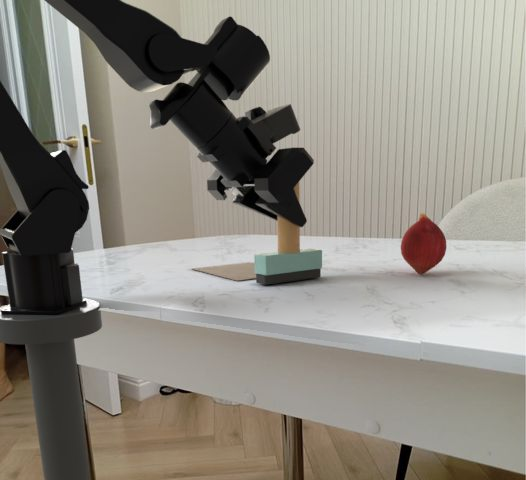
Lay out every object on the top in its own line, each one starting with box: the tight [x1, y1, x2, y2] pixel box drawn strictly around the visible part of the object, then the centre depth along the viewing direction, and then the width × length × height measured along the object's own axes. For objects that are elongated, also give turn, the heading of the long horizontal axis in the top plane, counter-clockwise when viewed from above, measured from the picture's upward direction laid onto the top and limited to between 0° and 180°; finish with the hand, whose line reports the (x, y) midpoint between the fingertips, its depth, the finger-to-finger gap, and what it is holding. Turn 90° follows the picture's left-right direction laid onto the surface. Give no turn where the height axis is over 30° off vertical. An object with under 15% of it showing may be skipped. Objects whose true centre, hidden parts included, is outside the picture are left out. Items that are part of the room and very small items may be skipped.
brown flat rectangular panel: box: [191, 262, 257, 282], centre depth 86 cm, size 14×10×1 cm
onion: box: [400, 212, 447, 275], centre depth 78 cm, size 6×6×8 cm
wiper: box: [253, 181, 323, 286], centre depth 74 cm, size 9×3×15 cm, turn 125°
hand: (298, 223), depth 75 cm, fingers closed on wiper, 3 cm apart
